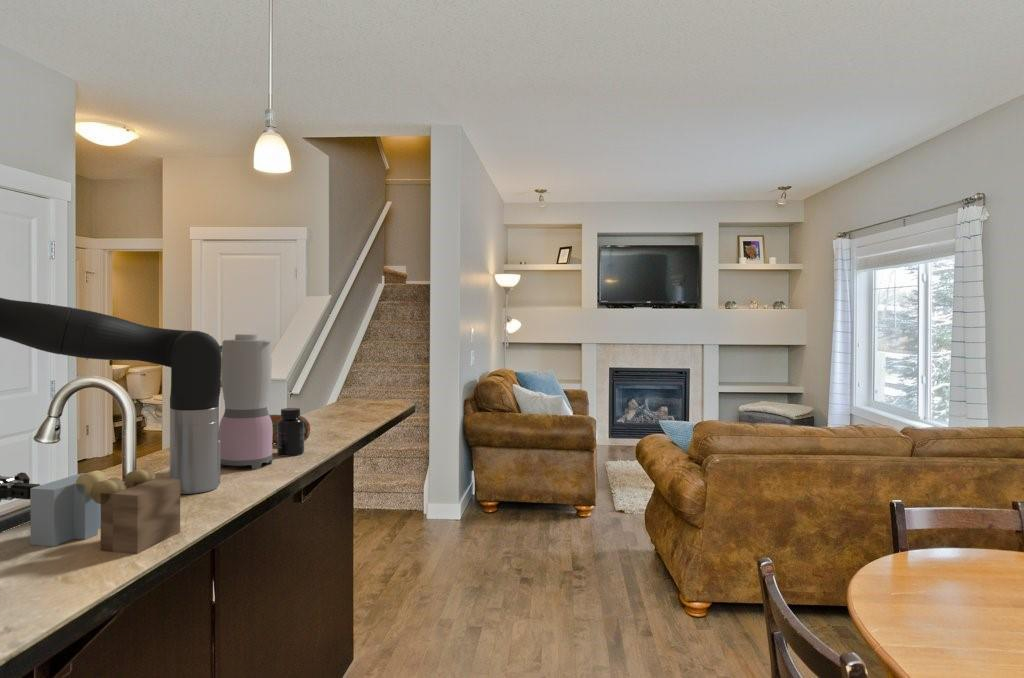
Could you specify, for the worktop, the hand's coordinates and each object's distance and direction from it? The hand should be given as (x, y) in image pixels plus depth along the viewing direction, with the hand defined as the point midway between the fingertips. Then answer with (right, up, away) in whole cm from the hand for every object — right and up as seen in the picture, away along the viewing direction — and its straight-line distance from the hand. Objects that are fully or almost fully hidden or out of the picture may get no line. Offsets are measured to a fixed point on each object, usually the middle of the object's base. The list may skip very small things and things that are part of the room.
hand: (37, 491), depth 105 cm
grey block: (+7, -7, 0) cm, 10 cm away
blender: (+12, -6, +51) cm, 53 cm away
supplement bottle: (+19, -6, +64) cm, 67 cm away
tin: (+13, -5, +77) cm, 78 cm away
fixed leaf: (+18, -7, -2) cm, 19 cm away
